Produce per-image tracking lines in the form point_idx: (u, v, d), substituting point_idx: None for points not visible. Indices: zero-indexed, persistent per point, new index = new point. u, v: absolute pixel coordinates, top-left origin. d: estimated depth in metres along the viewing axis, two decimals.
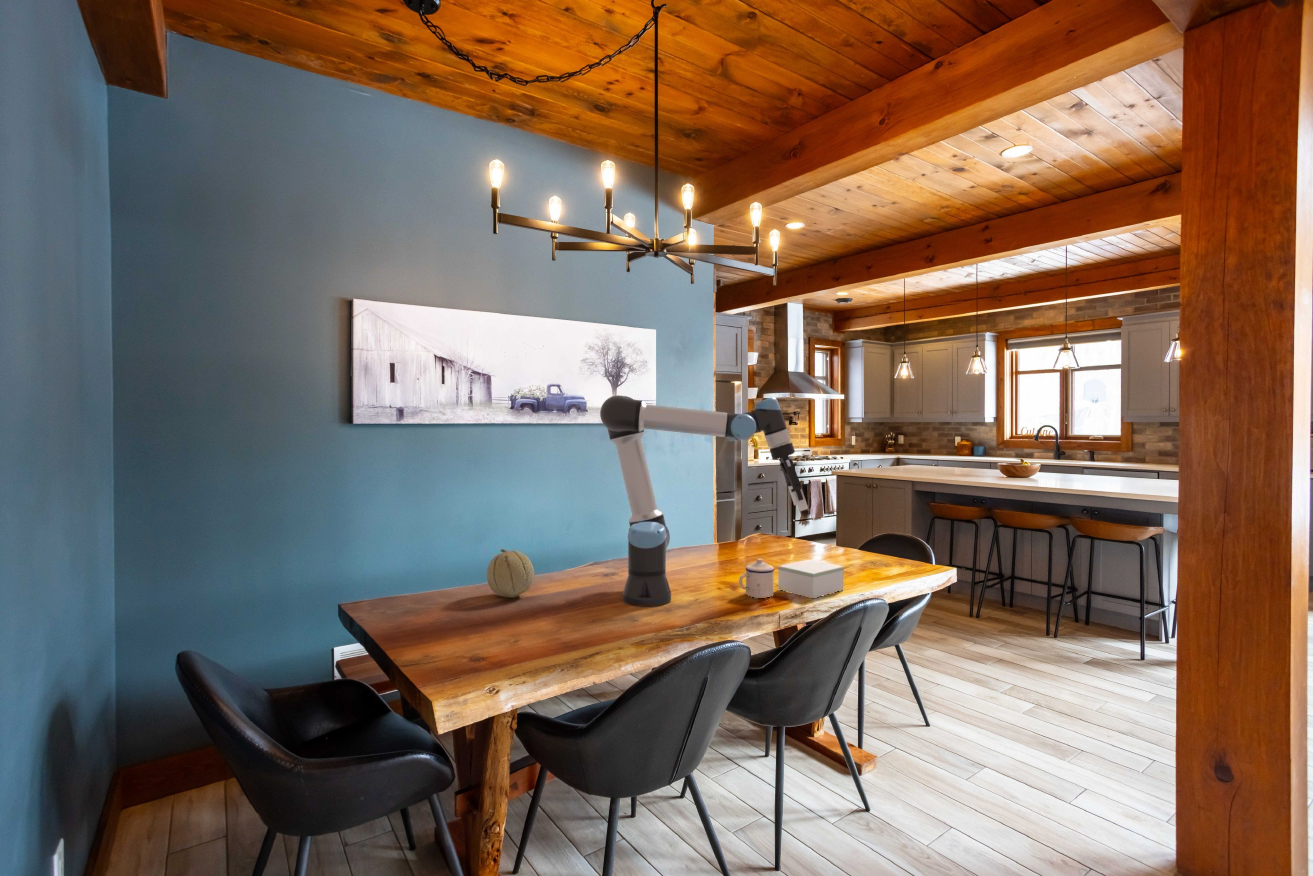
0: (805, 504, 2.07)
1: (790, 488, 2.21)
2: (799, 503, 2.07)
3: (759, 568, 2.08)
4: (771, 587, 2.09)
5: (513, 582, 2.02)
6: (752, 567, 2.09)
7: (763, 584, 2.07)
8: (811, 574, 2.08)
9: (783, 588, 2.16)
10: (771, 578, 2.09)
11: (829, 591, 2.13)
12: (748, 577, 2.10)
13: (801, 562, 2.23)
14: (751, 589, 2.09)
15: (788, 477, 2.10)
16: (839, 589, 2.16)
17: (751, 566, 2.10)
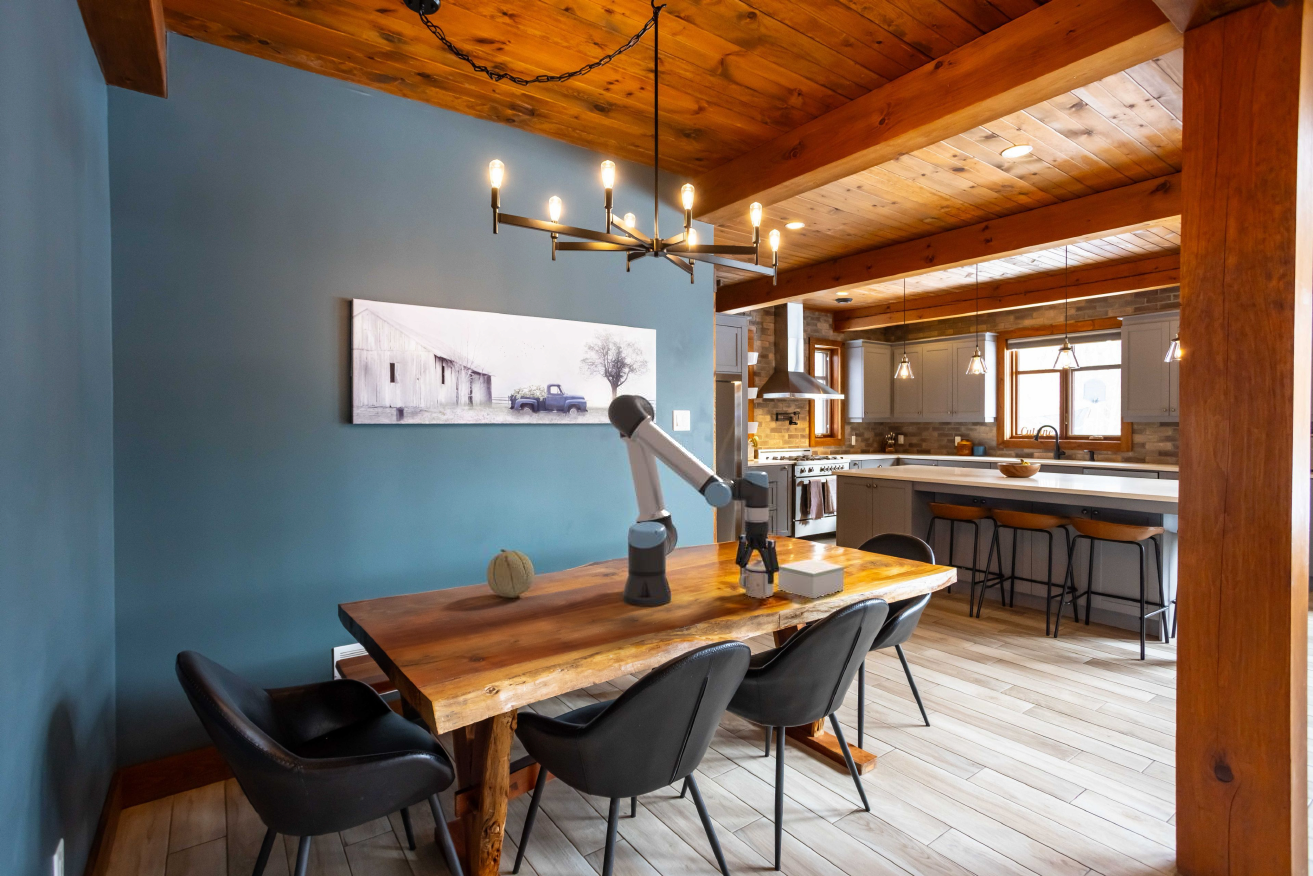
0: (771, 588, 2.07)
1: (744, 570, 2.14)
2: (768, 587, 2.06)
3: (759, 568, 2.08)
4: None
5: (513, 582, 2.02)
6: (752, 567, 2.09)
7: (763, 583, 2.07)
8: (811, 574, 2.08)
9: (783, 588, 2.16)
10: None
11: (829, 591, 2.13)
12: (748, 577, 2.10)
13: (801, 562, 2.23)
14: (751, 589, 2.09)
15: (762, 556, 2.07)
16: (839, 589, 2.16)
17: (751, 566, 2.10)
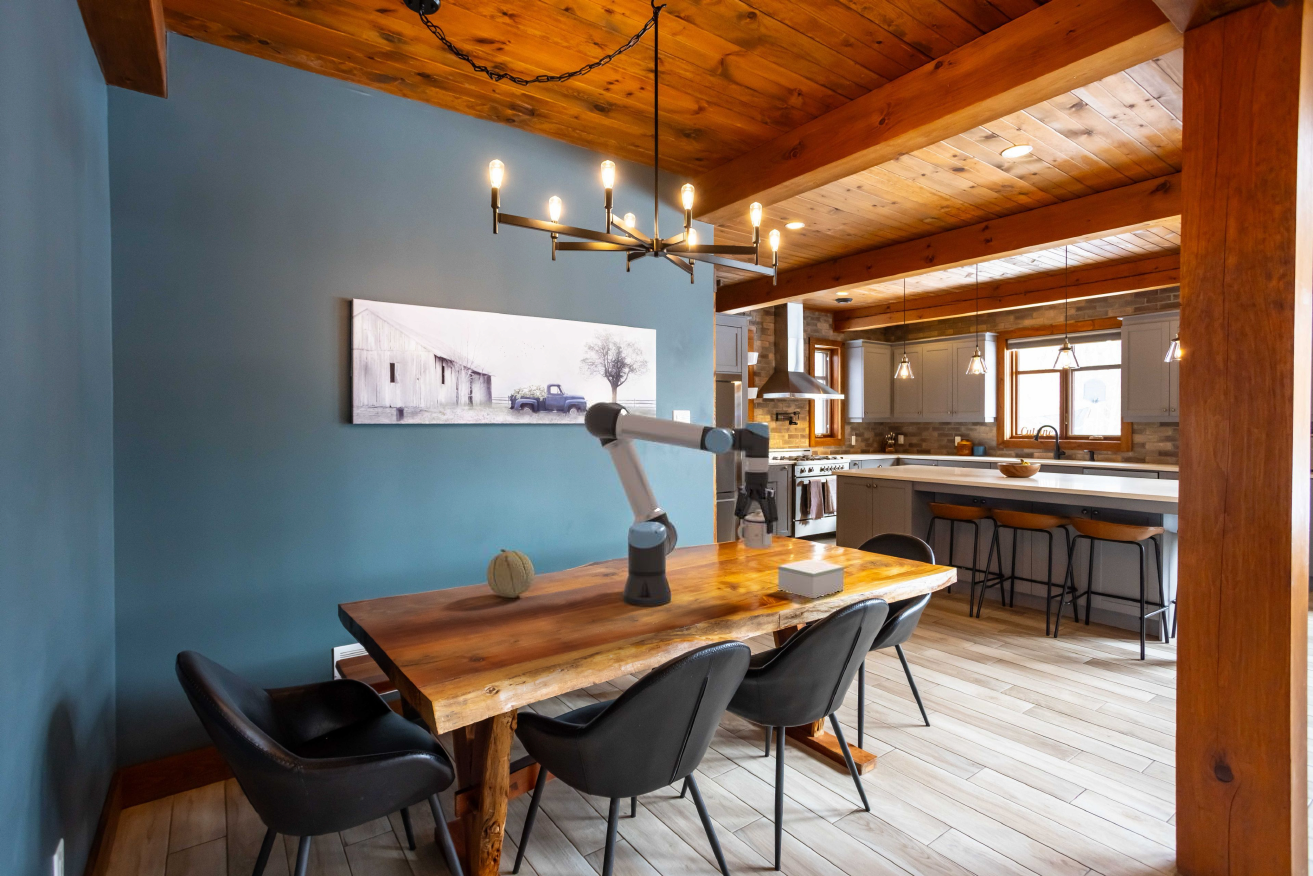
0: (769, 539, 2.07)
1: (743, 521, 2.13)
2: (766, 537, 2.06)
3: (758, 518, 2.08)
4: None
5: (513, 582, 2.02)
6: (751, 517, 2.09)
7: (762, 534, 2.07)
8: (811, 574, 2.08)
9: (783, 588, 2.16)
10: None
11: (829, 591, 2.13)
12: (746, 527, 2.09)
13: (801, 562, 2.23)
14: (749, 539, 2.09)
15: (761, 506, 2.07)
16: (839, 589, 2.16)
17: (750, 516, 2.10)
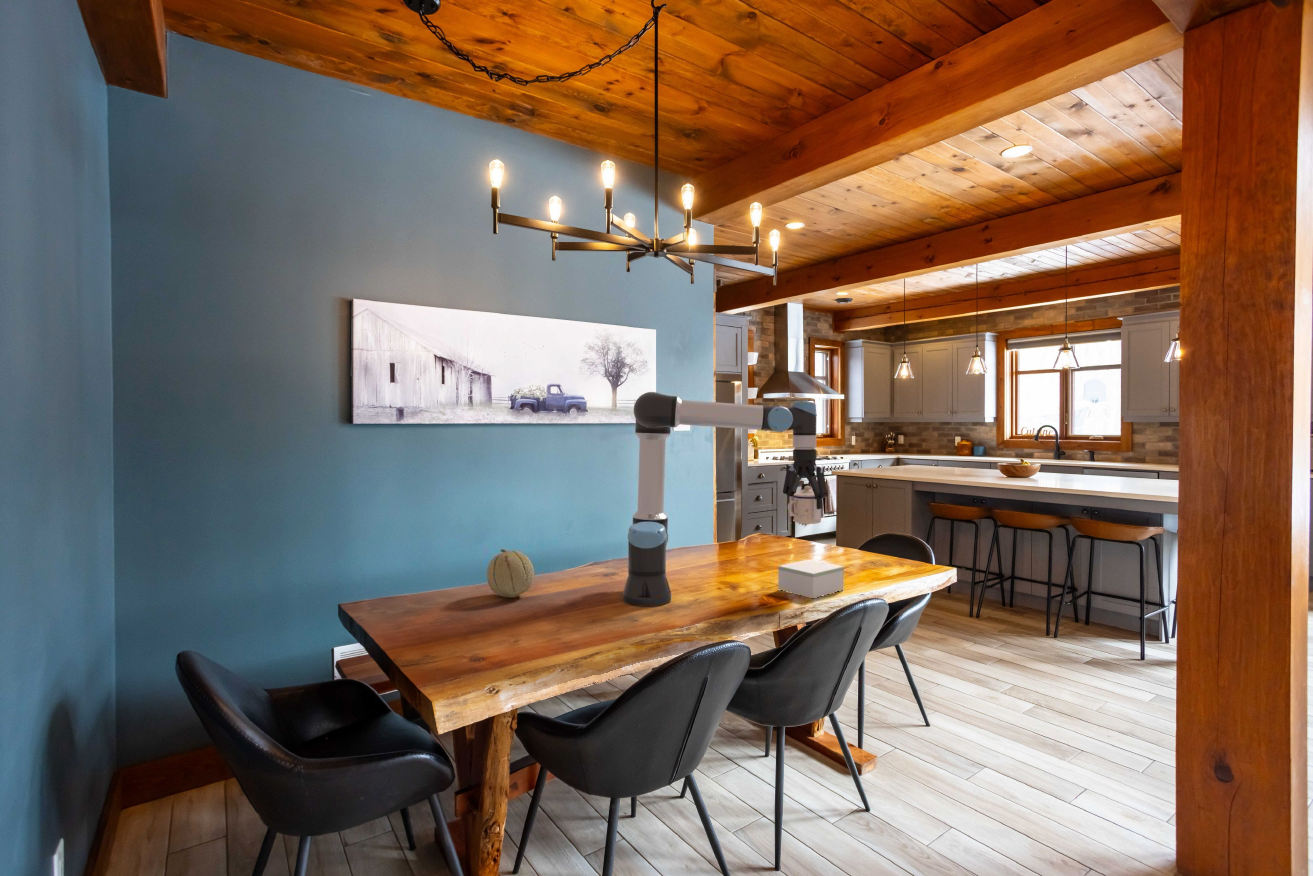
0: (819, 514, 2.12)
1: (792, 498, 2.19)
2: (816, 512, 2.11)
3: (807, 494, 2.13)
4: None
5: (513, 582, 2.02)
6: (800, 493, 2.14)
7: (812, 509, 2.12)
8: (811, 574, 2.08)
9: (783, 588, 2.16)
10: None
11: (829, 591, 2.13)
12: (796, 503, 2.15)
13: (801, 562, 2.23)
14: (799, 515, 2.14)
15: (810, 483, 2.12)
16: (839, 589, 2.16)
17: (799, 493, 2.15)
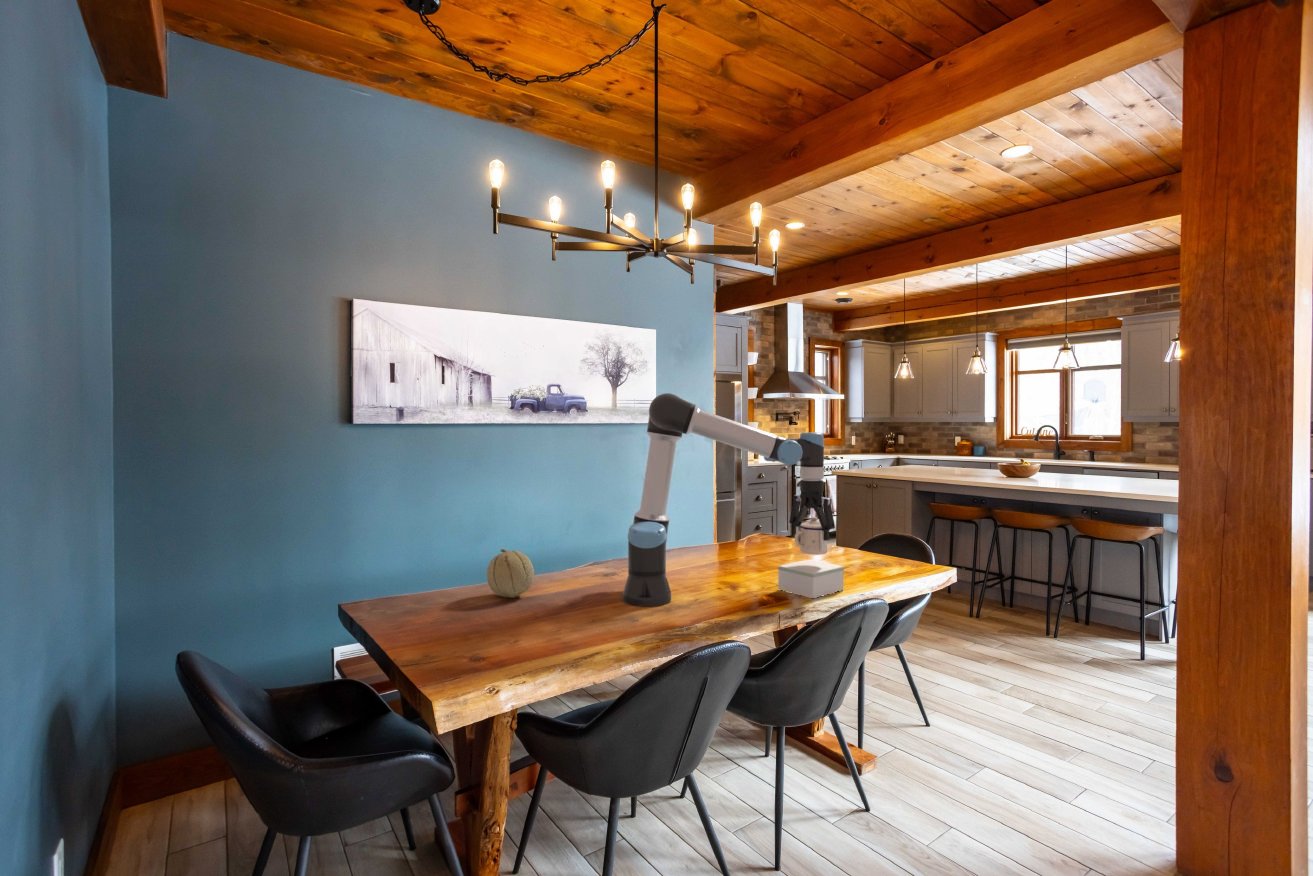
0: (826, 545, 2.14)
1: (798, 528, 2.20)
2: (823, 543, 2.13)
3: (814, 525, 2.14)
4: None
5: (513, 582, 2.02)
6: (807, 524, 2.16)
7: (818, 540, 2.14)
8: (811, 574, 2.08)
9: (783, 588, 2.16)
10: None
11: (829, 591, 2.13)
12: (803, 534, 2.16)
13: (801, 562, 2.23)
14: (806, 546, 2.15)
15: (817, 514, 2.14)
16: (839, 589, 2.16)
17: (806, 524, 2.17)
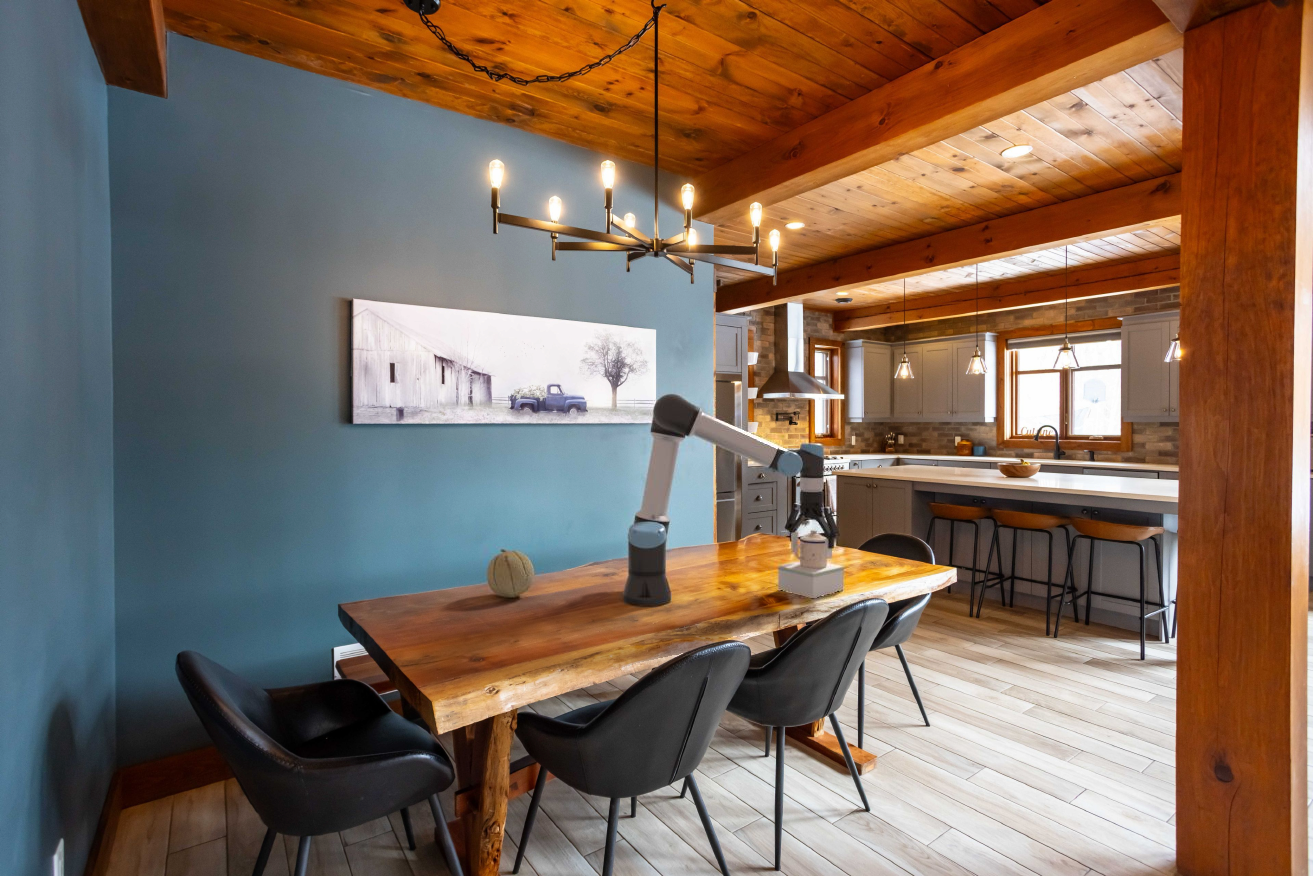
0: (831, 553, 2.12)
1: (794, 534, 2.22)
2: (828, 551, 2.11)
3: (814, 539, 2.14)
4: None
5: (513, 582, 2.02)
6: (807, 538, 2.16)
7: (818, 554, 2.14)
8: (811, 574, 2.08)
9: (783, 588, 2.16)
10: None
11: (829, 591, 2.13)
12: (803, 548, 2.16)
13: None
14: (806, 559, 2.15)
15: (820, 523, 2.13)
16: (839, 589, 2.16)
17: (806, 537, 2.17)
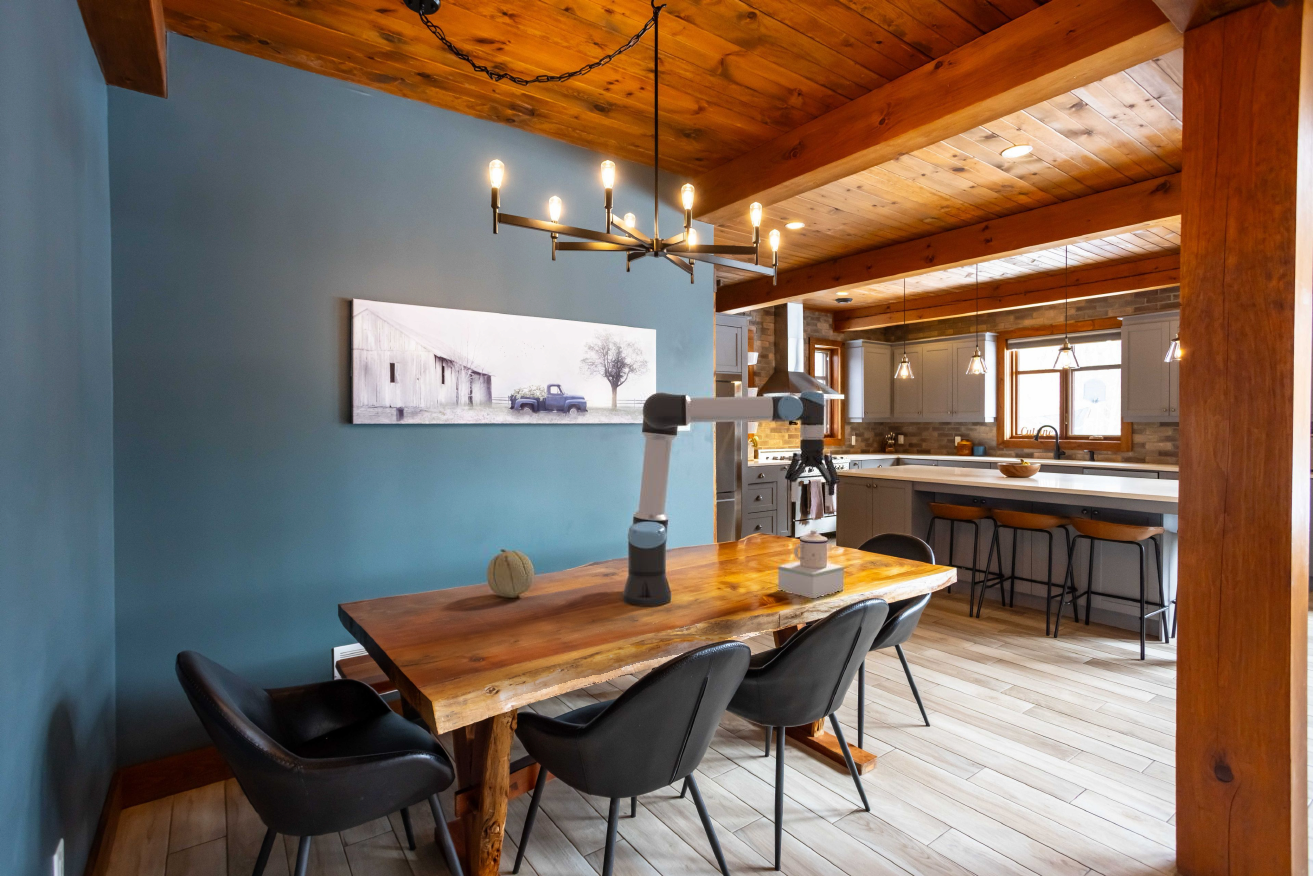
0: (831, 500, 2.12)
1: (794, 484, 2.21)
2: (828, 498, 2.11)
3: (814, 539, 2.15)
4: (825, 557, 2.16)
5: (513, 582, 2.02)
6: (807, 538, 2.16)
7: (818, 554, 2.14)
8: (811, 574, 2.08)
9: (783, 588, 2.16)
10: (825, 548, 2.15)
11: (829, 591, 2.13)
12: (803, 548, 2.16)
13: None
14: (806, 559, 2.15)
15: (820, 471, 2.12)
16: (839, 589, 2.16)
17: (805, 537, 2.17)
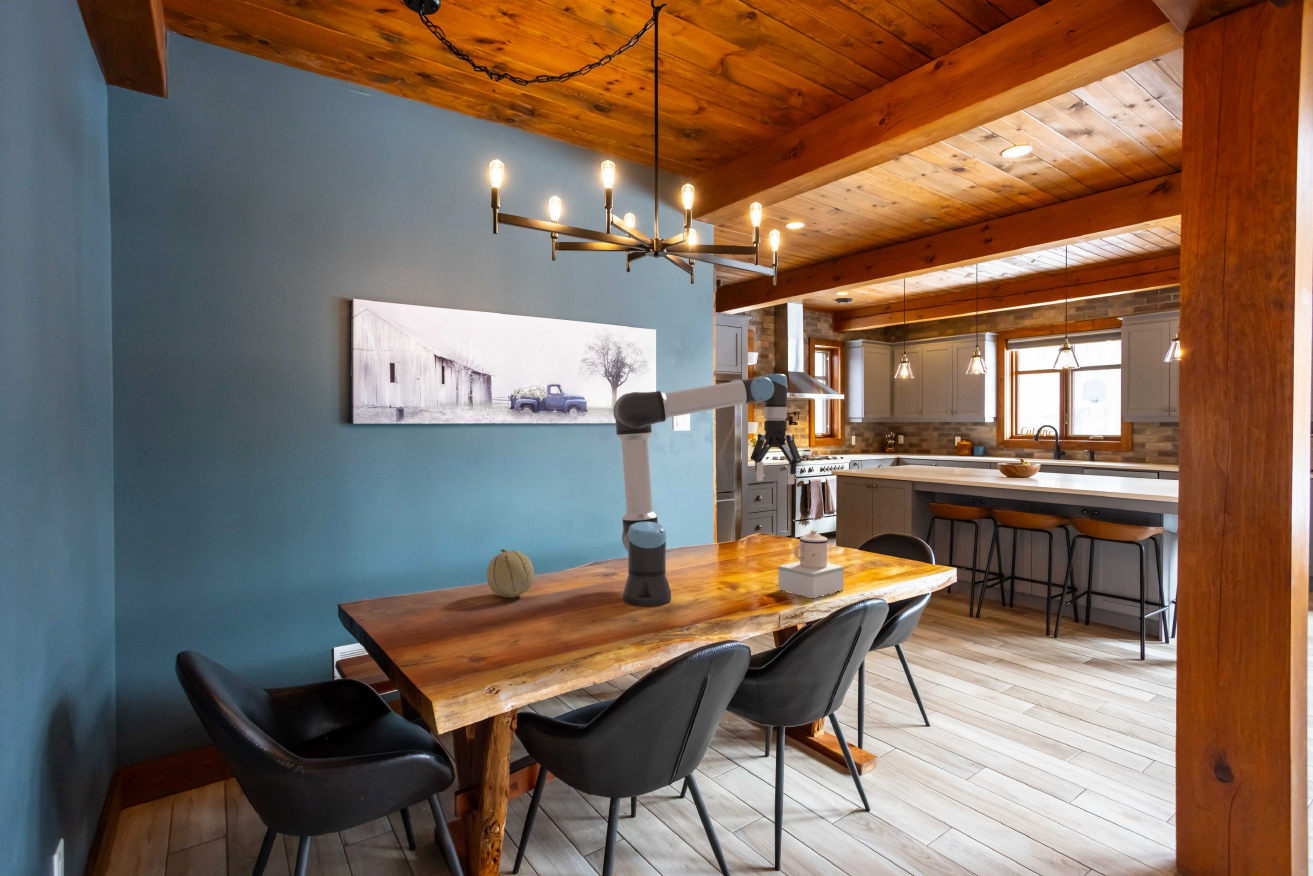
0: (793, 479, 2.20)
1: (759, 464, 2.29)
2: (790, 477, 2.19)
3: (814, 539, 2.15)
4: (825, 557, 2.16)
5: (513, 582, 2.02)
6: (807, 538, 2.16)
7: (818, 554, 2.14)
8: (811, 574, 2.08)
9: (783, 588, 2.16)
10: (825, 548, 2.15)
11: (829, 591, 2.13)
12: (803, 548, 2.16)
13: None
14: (806, 559, 2.15)
15: (783, 451, 2.20)
16: (839, 589, 2.16)
17: (805, 537, 2.17)
